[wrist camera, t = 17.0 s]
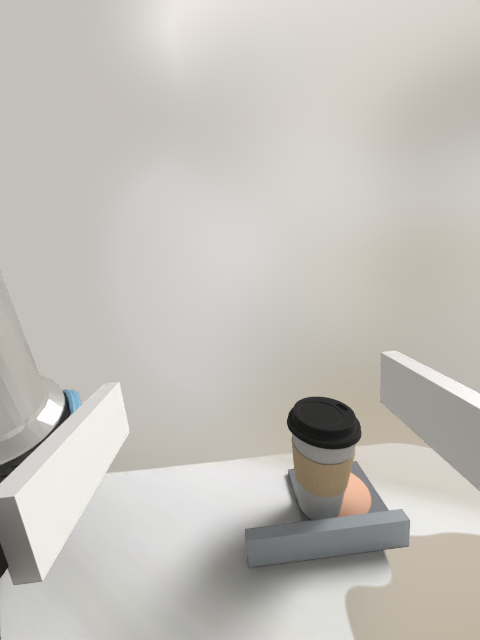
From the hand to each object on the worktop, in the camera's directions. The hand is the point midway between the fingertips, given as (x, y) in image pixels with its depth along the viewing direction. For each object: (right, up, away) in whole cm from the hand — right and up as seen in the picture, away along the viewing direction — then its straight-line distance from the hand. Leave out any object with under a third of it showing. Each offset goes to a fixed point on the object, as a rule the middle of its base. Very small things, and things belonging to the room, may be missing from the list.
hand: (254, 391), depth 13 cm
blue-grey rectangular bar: (+10, -25, +20) cm, 34 cm away
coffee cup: (+11, -23, +25) cm, 36 cm away
